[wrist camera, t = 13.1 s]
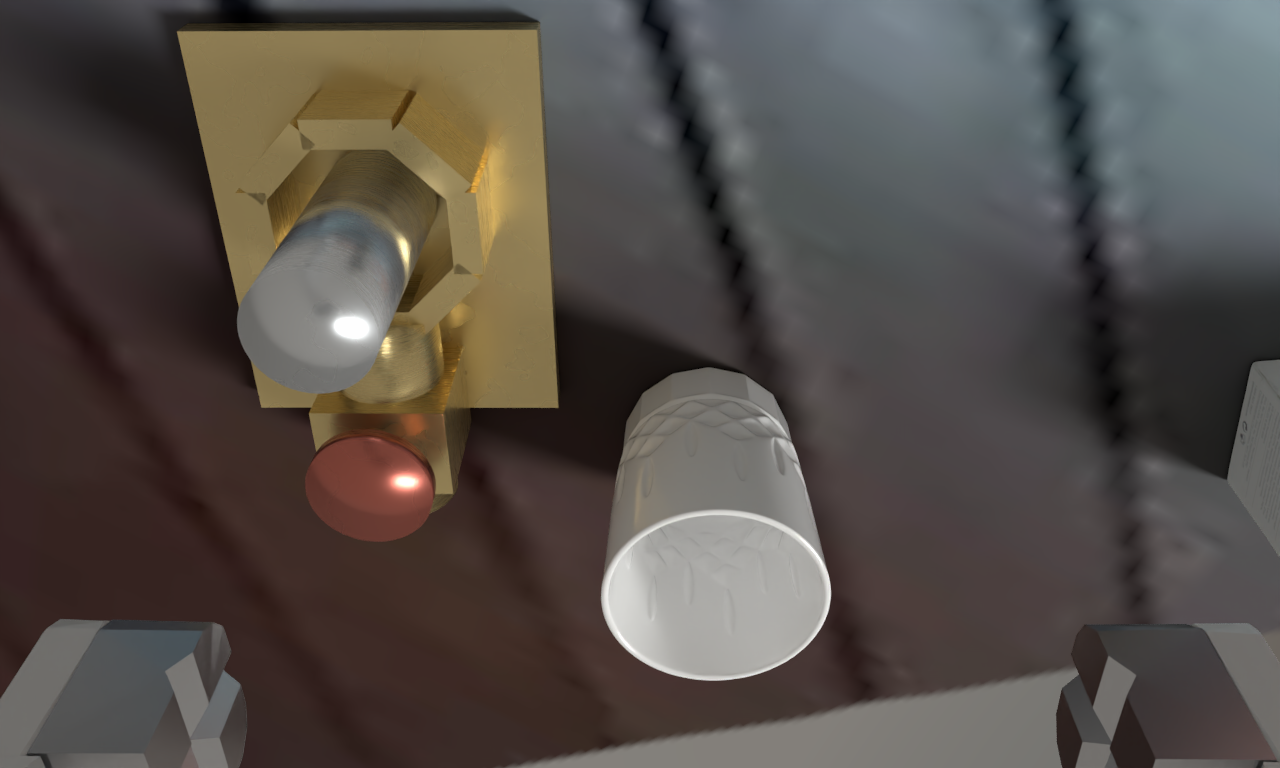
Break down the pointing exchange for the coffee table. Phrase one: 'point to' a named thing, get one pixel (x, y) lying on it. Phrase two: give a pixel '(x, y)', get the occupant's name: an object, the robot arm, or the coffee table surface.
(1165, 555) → the coffee table surface
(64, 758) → the robot arm
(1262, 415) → the skincare box
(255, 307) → the silver metal cylinder
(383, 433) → the brass valve fitting
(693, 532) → the white cup
